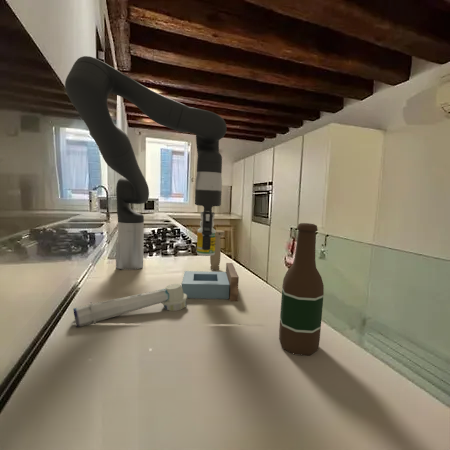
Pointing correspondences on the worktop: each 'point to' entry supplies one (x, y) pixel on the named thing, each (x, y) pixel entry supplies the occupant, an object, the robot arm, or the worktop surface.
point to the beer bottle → (302, 297)
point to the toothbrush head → (130, 305)
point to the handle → (216, 251)
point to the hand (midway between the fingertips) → (206, 247)
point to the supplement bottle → (200, 240)
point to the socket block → (205, 285)
